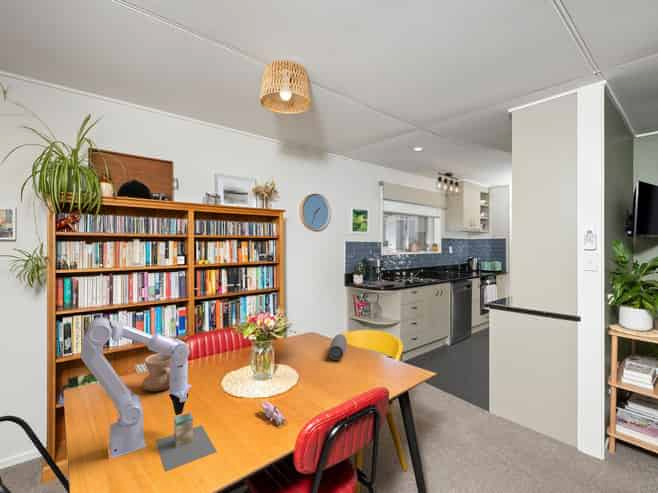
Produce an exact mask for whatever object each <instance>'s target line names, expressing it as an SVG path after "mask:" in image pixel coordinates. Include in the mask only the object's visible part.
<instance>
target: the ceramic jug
mask: <svg viewBox="0 0 658 493" xmlns="http://www.w3.org/2000/svg"><path fill="white" fill-rule="evenodd" d="M170 363H171V356H170V355H168V356H167V355H164V354H161V353H158V352H157V353H156V354H152V355H149V356H147V357H146V358H145V359H144V364H145V367H146V369H147V371H148V373H149V374H148V375H147V376H146V377H144V379H143V380H142V382H141V386H142V388H143V390H145V391H147V392H162V391H165V390H167V389H168V390H169V389H170Z"/></svg>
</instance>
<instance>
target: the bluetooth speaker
mask: <svg viewBox="0 0 658 493" xmlns="http://www.w3.org/2000/svg"><path fill="white" fill-rule="evenodd" d="M347 343H348V342H347V337H346V336H345V335H343V334H340V333H339V334H337V335H335V336H334V337H333V339H332V341H331V343H330V346H329V350H328V353H329V354H328V355H329V357H330V358H331V359H332V360H336V361H337V360H341V359H342V357H343V356H344V354H345V352H346V350H347Z"/></svg>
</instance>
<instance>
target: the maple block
mask: <svg viewBox="0 0 658 493" xmlns="http://www.w3.org/2000/svg"><path fill="white" fill-rule="evenodd" d="M173 422H174V423H173V434H174V442H175V444H176V447H179V446H181V445H184V444H187V443H190V442H193V428H194V417H193V415H192V413H191V412H188V413H185V414H180V415H176V416H174V417H173Z"/></svg>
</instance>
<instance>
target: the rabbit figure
mask: <svg viewBox="0 0 658 493" xmlns="http://www.w3.org/2000/svg"><path fill="white" fill-rule="evenodd" d="M260 406H261V408H262V410H263V411H264V412H265V416H266V417H267V418H268V419H269V420H270V421H271V422H272V421H273V420H275V424H276V425H277V426H280V428H282V427H283V424H285V425H288V420H287V418H285V417H284V416H285V413H280V411H279V409H278V406H277V405H273V404H272V403H271V402H268V401H267V402H264V404H260Z"/></svg>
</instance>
